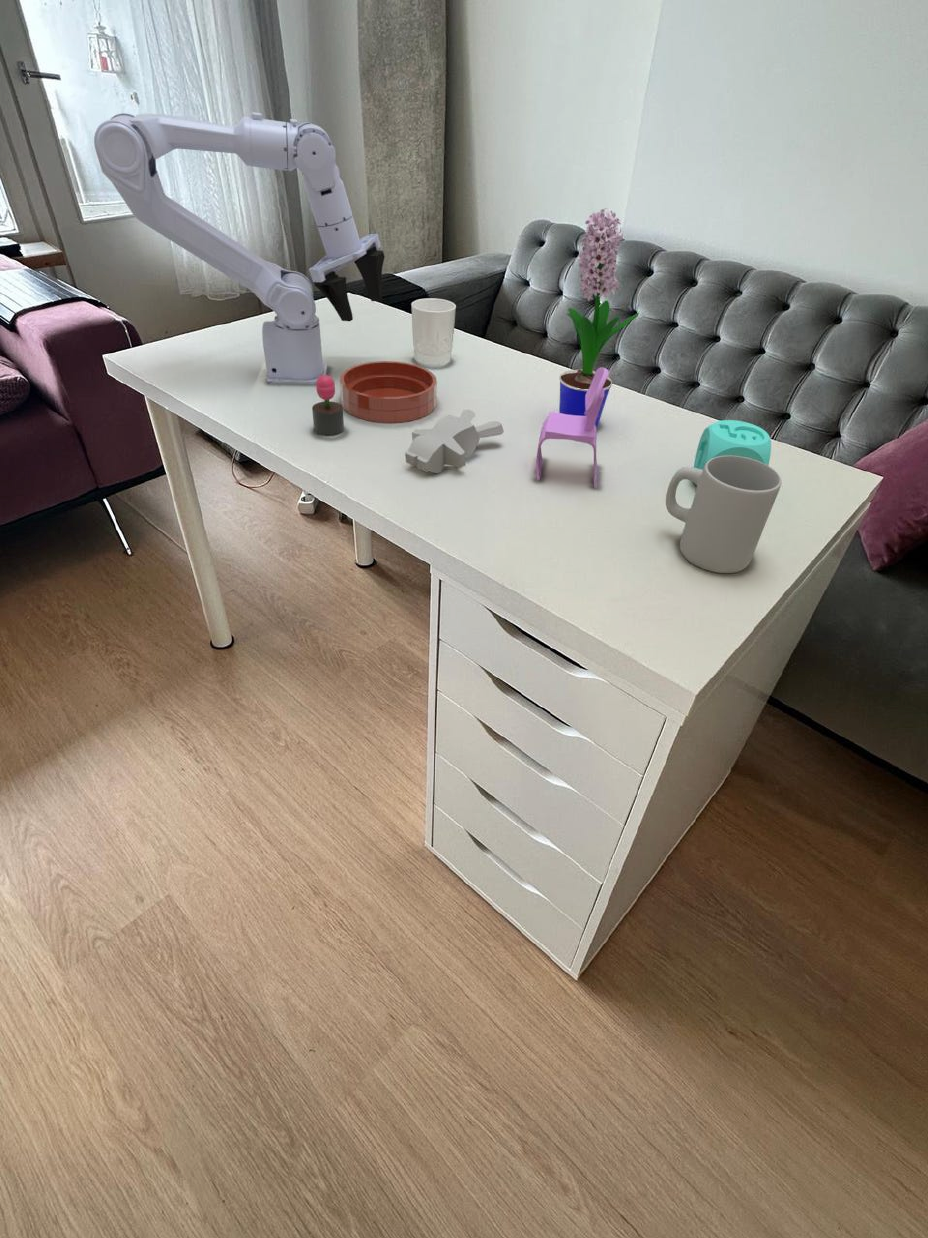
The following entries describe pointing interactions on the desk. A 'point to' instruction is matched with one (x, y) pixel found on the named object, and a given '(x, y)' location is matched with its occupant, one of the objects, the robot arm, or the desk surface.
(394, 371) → the bowl
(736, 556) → the mug
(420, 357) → the white cup
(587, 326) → the hyacinth
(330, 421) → the tulip
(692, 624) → the desk surface
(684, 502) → the desk surface
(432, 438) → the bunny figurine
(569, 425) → the toy chair
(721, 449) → the decorative dice
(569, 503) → the desk surface
